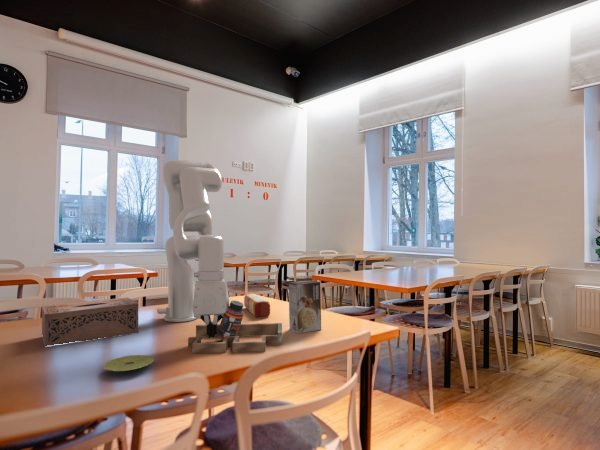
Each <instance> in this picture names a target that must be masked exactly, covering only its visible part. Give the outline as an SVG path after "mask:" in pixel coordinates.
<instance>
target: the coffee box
mask: <svg viewBox="0 0 600 450" xmlns="http://www.w3.org/2000/svg"><path fill="white" fill-rule="evenodd" d="M321 301H322V300H321V281H318V280H317V281H316V280H312V279H311V280H310V279H309V280H299V281H289V282H288V311H289V313H288V317H289V318H288V319H289V320H288V321H289V330H290V331H292V332H293V333H296V334H303V333H308V332H310V333H311V332H315V331H321V330H322V304H321V303H322V302H321Z"/></svg>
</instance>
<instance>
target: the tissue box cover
mask: <svg viewBox="0 0 600 450" xmlns="http://www.w3.org/2000/svg"><path fill="white" fill-rule="evenodd" d="M132 333H134V334H138V333H139V303H138V302H137V301H135V300H134V299H131V298H130V297H128V296H127V297H119V298H118V297H117V298H110V299H108V298H107V299H100V300H89V301H81V302H72V303H61V304H53V305H45V306H41V336H42V335H43V338H42V340H43V339H44V342H43V345H44V344H45V346H47V345H54V344H63V343H69V342H75V341H85V342H87V341H86V340H91V341H94V340H93V339H97V340H99V339H98V338H103V339H105V338H104V337H109V338H114V337H113V336H115V337H120V336H119V335H122V336H126V334H128V335H132ZM45 346H44V347H45Z"/></svg>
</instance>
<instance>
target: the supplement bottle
mask: <svg viewBox="0 0 600 450" xmlns="http://www.w3.org/2000/svg"><path fill="white" fill-rule="evenodd" d="M243 308H244V303H242V302H241V301H238V300H230V302H229V306H228V309H227V312H226V313H225V314H223V317H222V319H221V320H220V323H219V324H220V326H219V329H218V332H217V336H216V337H217V338H219V339H221V340H222V341H223V340H224V338H225V336H237V333H238V330H239V327H240V324H242V321H243V317H244V311H243Z"/></svg>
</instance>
